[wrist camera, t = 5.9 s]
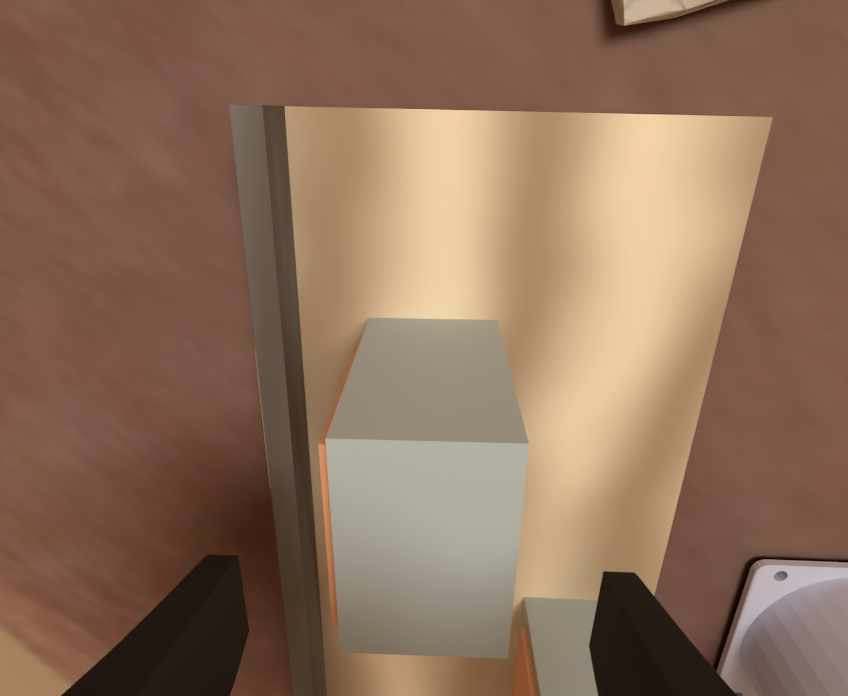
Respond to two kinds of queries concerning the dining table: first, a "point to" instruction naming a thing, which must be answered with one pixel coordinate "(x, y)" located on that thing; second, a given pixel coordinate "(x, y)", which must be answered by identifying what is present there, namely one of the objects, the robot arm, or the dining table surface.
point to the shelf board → (515, 313)
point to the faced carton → (555, 648)
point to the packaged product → (655, 9)
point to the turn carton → (424, 490)
